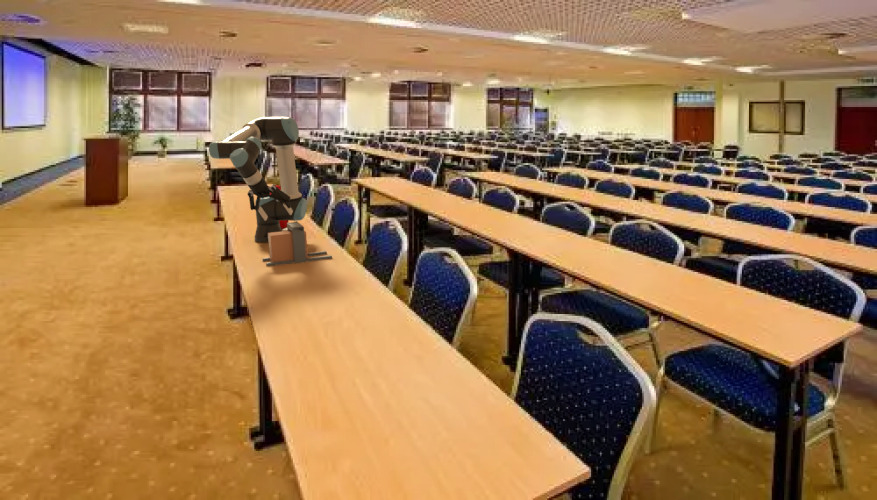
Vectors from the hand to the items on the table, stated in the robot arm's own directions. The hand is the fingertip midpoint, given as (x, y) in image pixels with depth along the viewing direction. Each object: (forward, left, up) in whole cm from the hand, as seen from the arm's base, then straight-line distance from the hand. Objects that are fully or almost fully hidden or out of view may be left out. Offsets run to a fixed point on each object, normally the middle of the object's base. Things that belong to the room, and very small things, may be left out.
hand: (278, 215), depth 285 cm
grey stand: (-1, +9, -20) cm, 22 cm away
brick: (+2, +7, -20) cm, 21 cm away
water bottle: (-48, -57, -20) cm, 77 cm away
